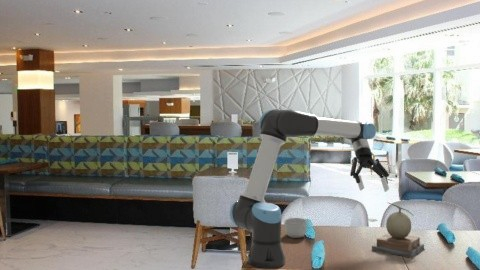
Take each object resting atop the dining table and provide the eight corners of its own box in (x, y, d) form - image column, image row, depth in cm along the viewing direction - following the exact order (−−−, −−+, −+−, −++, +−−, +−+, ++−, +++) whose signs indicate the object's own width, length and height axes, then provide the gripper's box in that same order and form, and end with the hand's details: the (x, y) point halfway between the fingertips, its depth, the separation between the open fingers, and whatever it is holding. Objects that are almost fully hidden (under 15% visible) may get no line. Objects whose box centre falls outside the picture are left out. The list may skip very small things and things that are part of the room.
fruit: (414, 242, 213) (415, 207, 212) (387, 240, 215) (387, 206, 214) (411, 235, 223) (412, 202, 222) (384, 234, 226) (385, 201, 225)
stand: (410, 257, 208) (410, 245, 207) (371, 250, 218) (372, 239, 218) (424, 248, 221) (424, 237, 220) (387, 241, 231) (387, 231, 231)
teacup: (307, 239, 235) (307, 222, 235) (284, 239, 236) (284, 222, 235) (304, 231, 249) (304, 216, 249) (282, 231, 249) (283, 216, 249)
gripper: (379, 156, 246) (392, 194, 235) (336, 152, 238) (347, 192, 226) (388, 148, 241) (401, 187, 229) (343, 144, 232) (355, 184, 220)
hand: (374, 189), depth 228 cm, fingers open, 13 cm apart
